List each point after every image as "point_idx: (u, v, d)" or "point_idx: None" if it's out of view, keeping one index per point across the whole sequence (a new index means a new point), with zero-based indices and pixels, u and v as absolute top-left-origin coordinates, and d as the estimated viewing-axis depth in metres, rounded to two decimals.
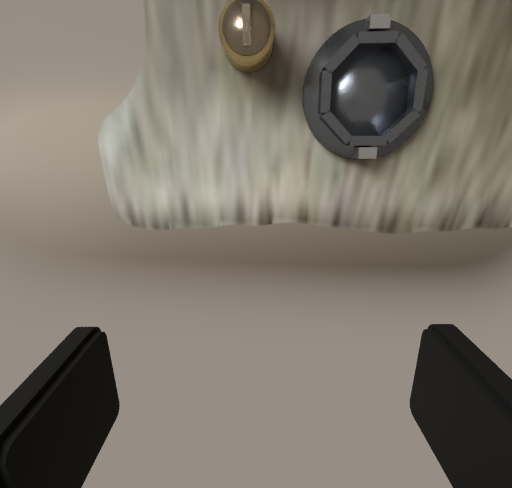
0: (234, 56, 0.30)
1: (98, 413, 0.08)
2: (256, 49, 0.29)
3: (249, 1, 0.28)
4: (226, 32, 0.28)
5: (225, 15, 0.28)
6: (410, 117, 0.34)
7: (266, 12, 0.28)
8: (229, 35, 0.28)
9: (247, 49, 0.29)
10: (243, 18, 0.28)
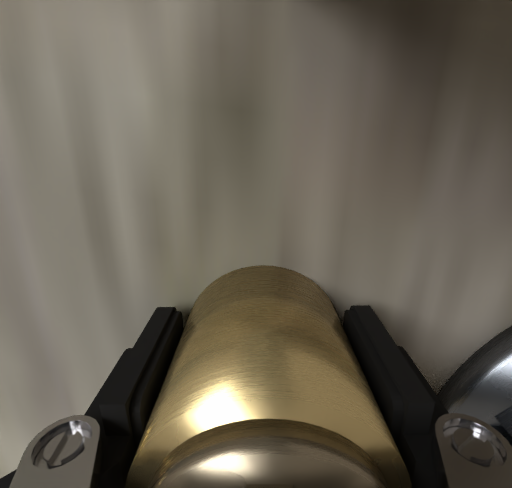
0: None
1: None
2: None
3: (289, 471, 0.05)
4: None
5: None
6: None
7: None
8: None
9: None
10: None
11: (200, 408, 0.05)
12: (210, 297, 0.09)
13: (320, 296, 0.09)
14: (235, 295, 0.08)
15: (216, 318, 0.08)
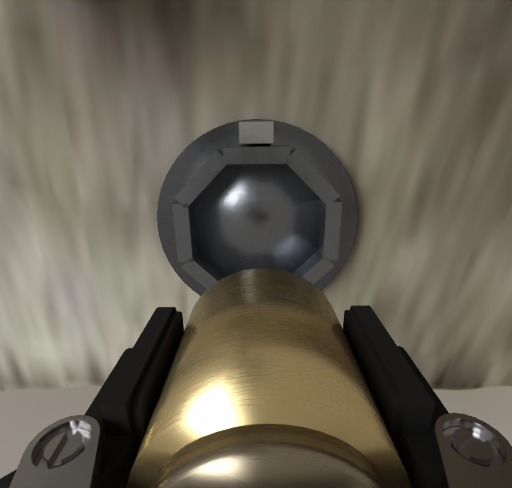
0: None
1: None
2: None
3: (289, 477, 0.05)
4: None
5: None
6: (320, 268, 0.21)
7: None
8: None
9: None
10: None
11: (200, 413, 0.05)
12: (210, 300, 0.09)
13: (320, 299, 0.09)
14: (235, 298, 0.08)
15: (216, 322, 0.08)
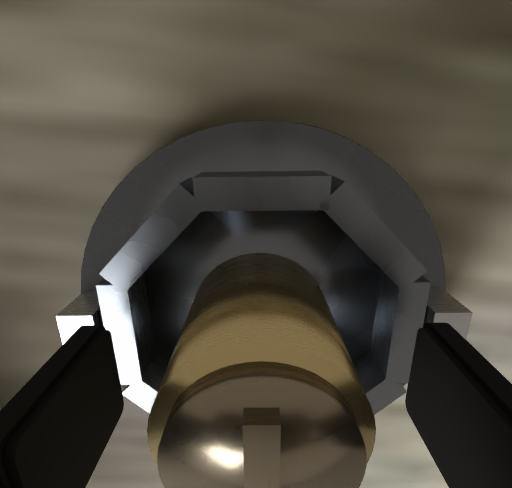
0: None
1: (103, 411, 0.08)
2: None
3: (276, 396, 0.06)
4: (176, 482, 0.07)
5: (169, 435, 0.06)
6: (349, 213, 0.09)
7: (350, 426, 0.06)
8: None
9: None
10: (248, 467, 0.06)
11: (208, 353, 0.06)
12: (213, 279, 0.11)
13: (308, 278, 0.11)
14: (235, 276, 0.10)
15: (219, 294, 0.09)
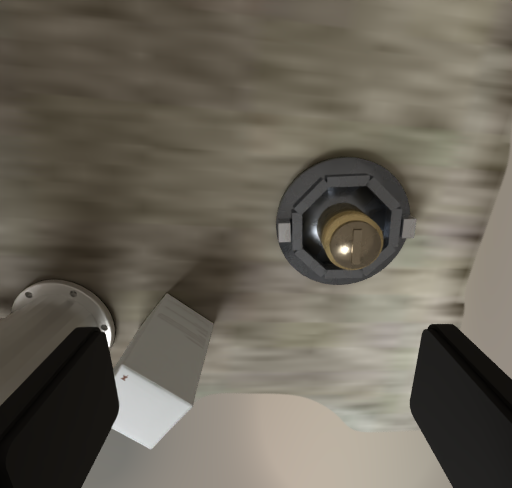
0: (339, 266, 0.29)
1: (98, 413, 0.08)
2: (364, 264, 0.28)
3: (360, 225, 0.27)
4: (334, 251, 0.28)
5: (334, 237, 0.28)
6: (375, 186, 0.30)
7: (377, 233, 0.27)
8: (337, 253, 0.28)
9: (355, 264, 0.28)
10: (354, 242, 0.27)
11: (343, 218, 0.28)
12: (329, 210, 0.32)
13: None
14: (338, 207, 0.31)
15: (336, 211, 0.30)
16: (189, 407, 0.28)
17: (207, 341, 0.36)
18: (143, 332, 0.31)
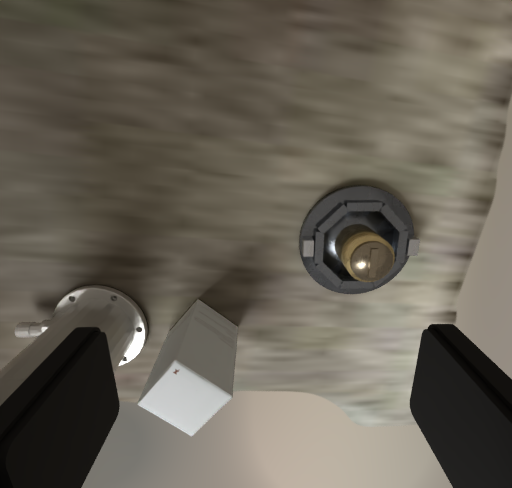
0: (357, 278, 0.35)
1: (98, 413, 0.08)
2: (378, 277, 0.34)
3: (377, 245, 0.33)
4: (354, 266, 0.33)
5: (355, 254, 0.33)
6: (386, 212, 0.36)
7: (390, 252, 0.33)
8: (356, 268, 0.34)
9: (370, 277, 0.34)
10: (371, 259, 0.33)
11: (362, 239, 0.33)
12: (347, 230, 0.37)
13: None
14: (355, 228, 0.37)
15: (354, 232, 0.36)
16: (229, 398, 0.32)
17: (235, 342, 0.40)
18: (186, 333, 0.35)
